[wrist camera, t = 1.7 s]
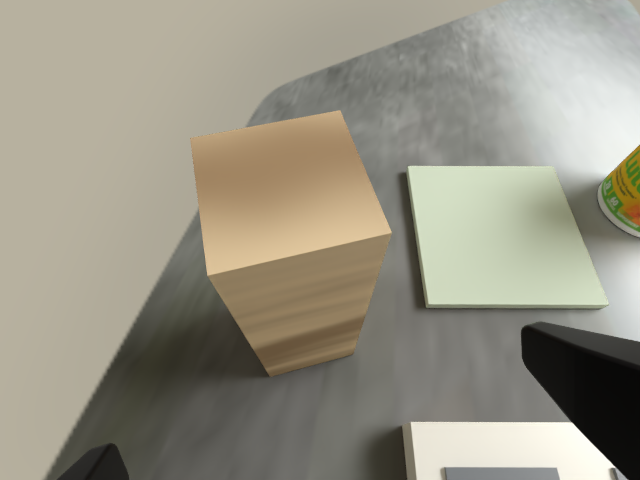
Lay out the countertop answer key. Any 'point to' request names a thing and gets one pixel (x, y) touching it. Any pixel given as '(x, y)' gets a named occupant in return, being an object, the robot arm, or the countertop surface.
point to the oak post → (291, 236)
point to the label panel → (502, 452)
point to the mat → (499, 239)
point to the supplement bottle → (623, 194)
